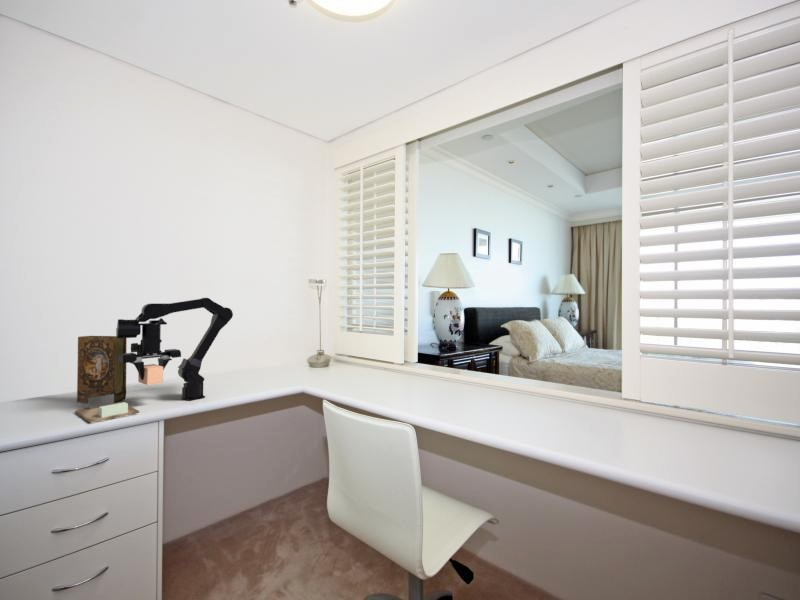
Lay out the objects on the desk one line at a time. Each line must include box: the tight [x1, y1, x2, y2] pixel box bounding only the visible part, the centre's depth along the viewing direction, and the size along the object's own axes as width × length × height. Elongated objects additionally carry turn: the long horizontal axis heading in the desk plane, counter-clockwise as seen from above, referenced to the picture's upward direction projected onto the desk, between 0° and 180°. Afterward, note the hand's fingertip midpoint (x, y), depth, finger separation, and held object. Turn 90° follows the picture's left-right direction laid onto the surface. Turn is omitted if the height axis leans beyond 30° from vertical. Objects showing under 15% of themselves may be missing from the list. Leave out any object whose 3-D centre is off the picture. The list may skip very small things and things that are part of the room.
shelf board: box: [75, 401, 140, 424], centre depth 124 cm, size 13×18×1 cm
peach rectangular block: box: [137, 363, 164, 386], centre depth 134 cm, size 5×9×6 cm, turn 53°
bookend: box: [86, 394, 115, 409], centre depth 128 cm, size 7×2×4 cm, turn 143°
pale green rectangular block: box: [99, 401, 129, 418], centre depth 119 cm, size 7×3×3 cm, turn 143°
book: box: [76, 335, 127, 404], centre depth 138 cm, size 16×6×25 cm, turn 84°
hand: (150, 378), depth 134 cm, fingers closed on peach rectangular block, 5 cm apart
